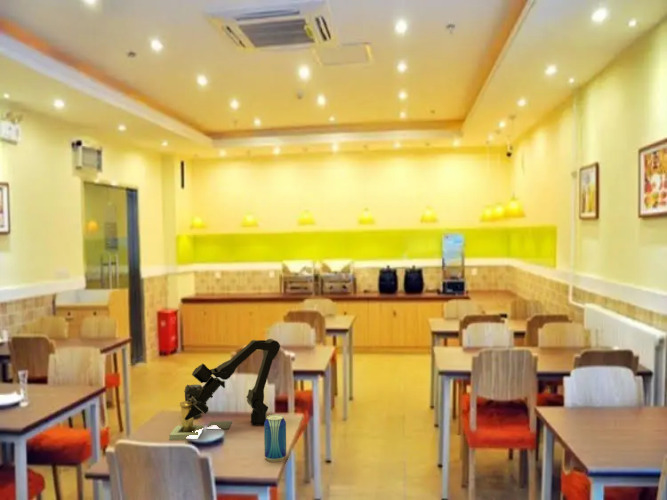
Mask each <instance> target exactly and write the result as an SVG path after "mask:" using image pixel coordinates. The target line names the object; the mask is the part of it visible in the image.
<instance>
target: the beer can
mask: <svg viewBox="0 0 667 500" xmlns="http://www.w3.org/2000/svg"><path fill="white" fill-rule="evenodd" d="M263 426H264V427H263V428H264V429H263V431H264V433H263V435H264V436H263V437H264V438H263V439H264V440H263V441H264V443H263V444H264V445H263V446H264V449H263V450H264V457H265V459H266V460H267V461H268V462H275V463H276V462H280V461H283V460H285V458H286V456H287V421H286V420H285V418H284V415H283V414H270V415H266V421H265V423H264V425H263Z"/></svg>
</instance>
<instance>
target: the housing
mask: <svg viewBox="0 0 667 500" xmlns="http://www.w3.org/2000/svg"><path fill="white" fill-rule="evenodd" d="M202 428H204V429H205V425H204V424H196V425H195V424H193V430H194V431H193V432H182V424H180V425H176V426H175V427H174V429H173V430H172V431H171V432H170V433H169V437H168V438H169V441H179V440H180V441H185V440H186V437H187V436H189V435H198V432H196V433H195V431H196V430H199V429H202Z"/></svg>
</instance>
